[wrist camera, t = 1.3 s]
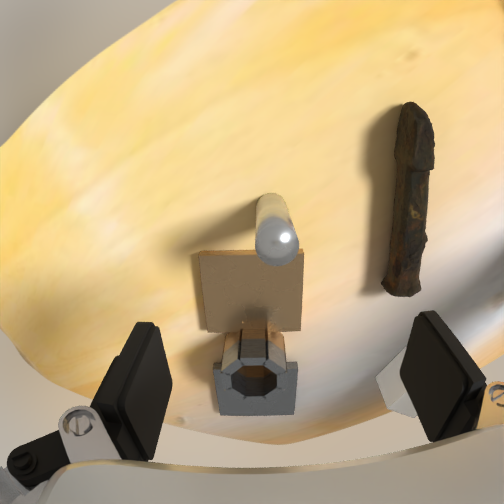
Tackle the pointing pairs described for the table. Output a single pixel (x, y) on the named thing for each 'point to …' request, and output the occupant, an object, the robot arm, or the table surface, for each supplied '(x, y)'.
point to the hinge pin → (275, 231)
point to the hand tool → (410, 200)
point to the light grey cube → (395, 388)
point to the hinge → (253, 329)
